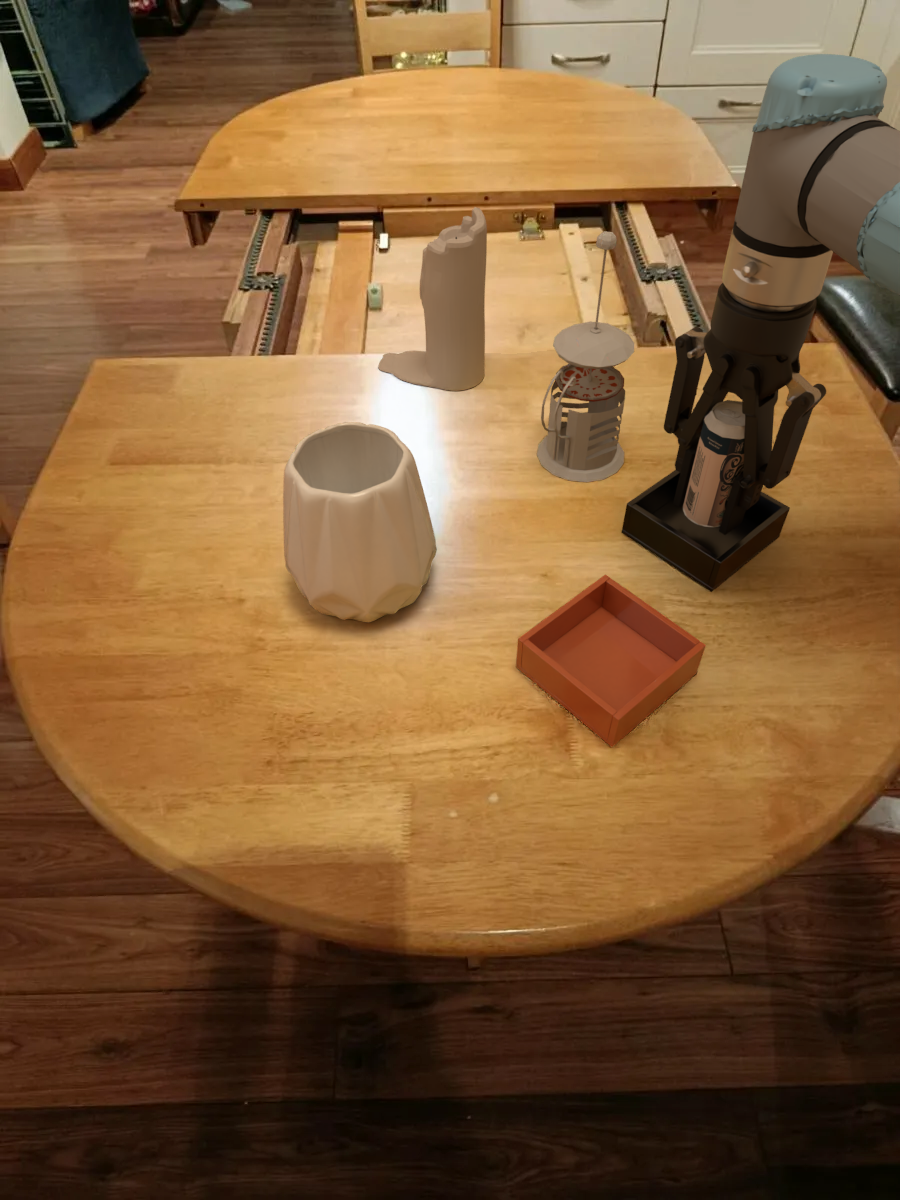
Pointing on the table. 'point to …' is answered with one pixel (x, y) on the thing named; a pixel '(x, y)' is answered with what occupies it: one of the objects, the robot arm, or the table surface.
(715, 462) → the beer can
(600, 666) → the terracotta bin
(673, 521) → the black bin
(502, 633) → the table surface
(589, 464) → the french press
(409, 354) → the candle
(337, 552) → the vase
